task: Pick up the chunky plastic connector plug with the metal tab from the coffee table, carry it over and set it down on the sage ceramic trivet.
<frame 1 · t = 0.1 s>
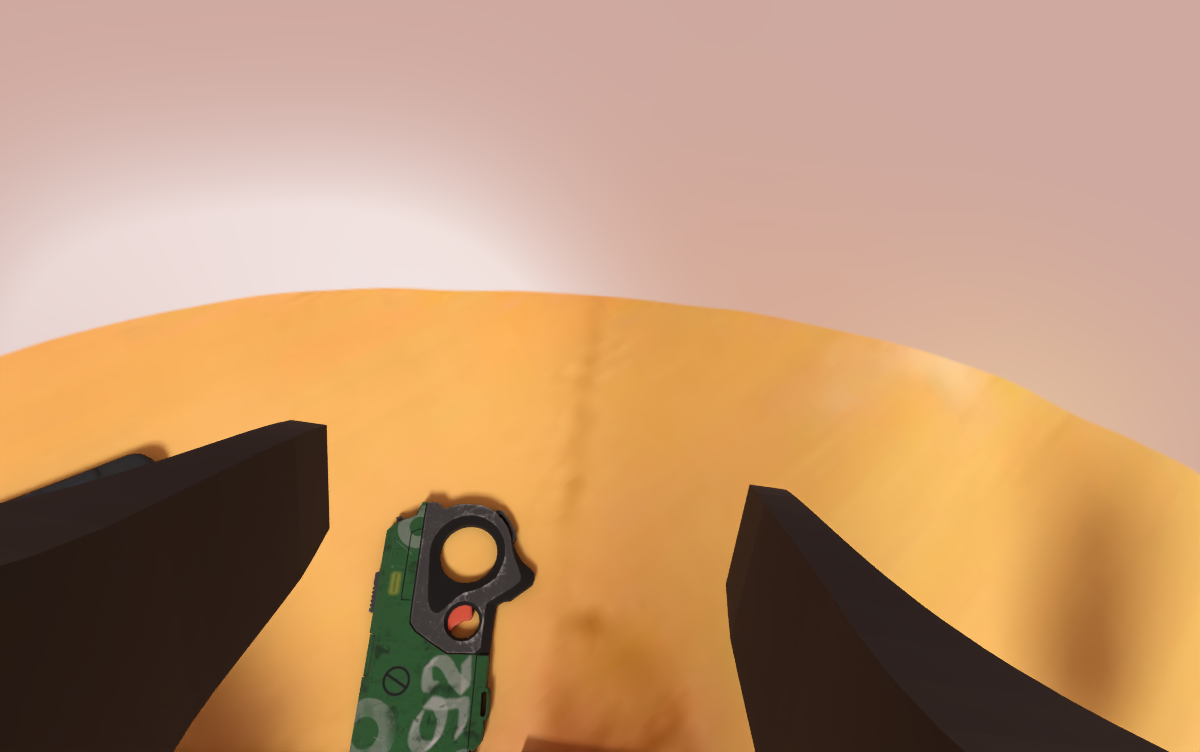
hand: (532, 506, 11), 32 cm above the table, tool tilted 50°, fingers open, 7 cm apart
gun: (451, 637, 40), on the table
handheld game console: (46, 598, 39), on the table
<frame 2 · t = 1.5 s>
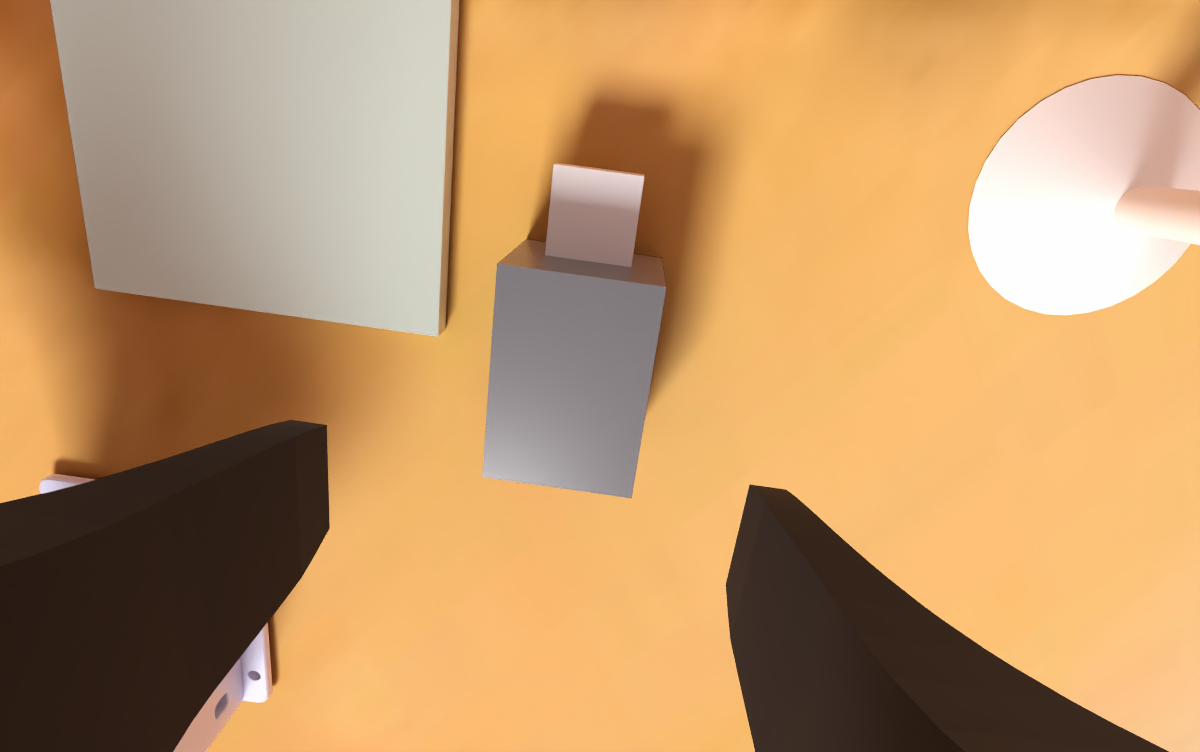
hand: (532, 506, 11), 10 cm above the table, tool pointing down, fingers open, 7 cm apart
connector plug: (582, 339, 21), on the table
champagne flute: (1085, 202, 18), on the table
trivet: (270, 127, 19), on the table
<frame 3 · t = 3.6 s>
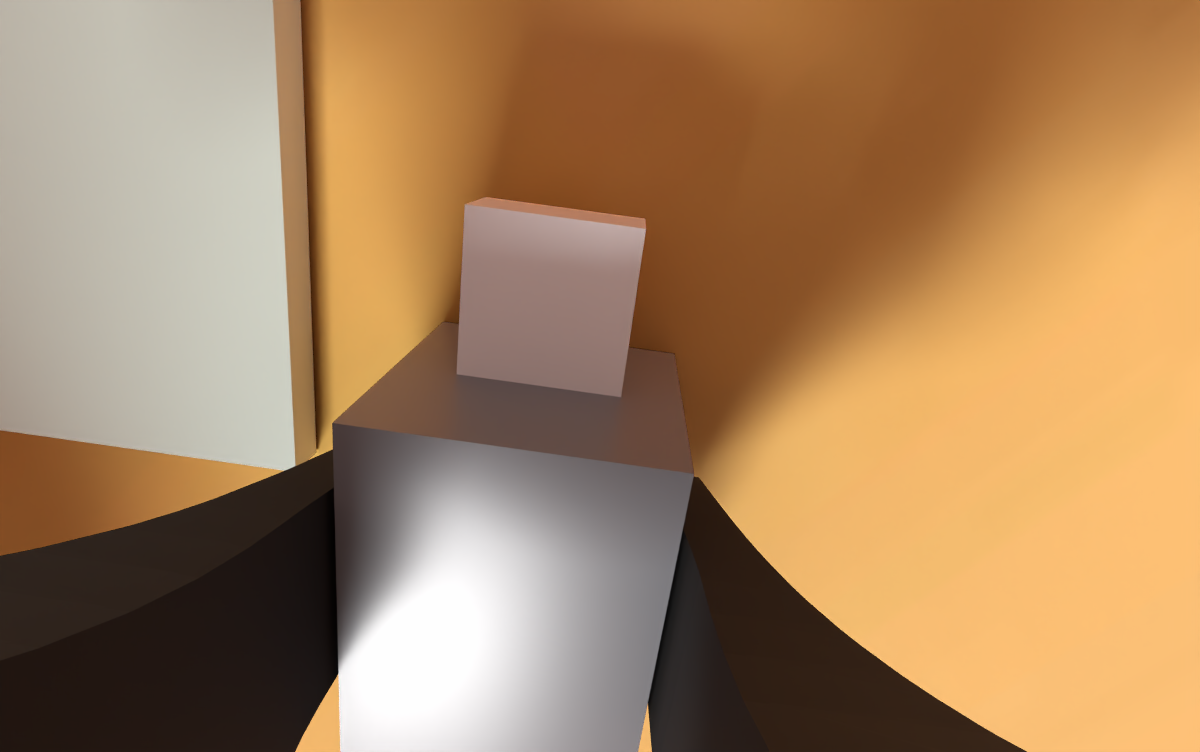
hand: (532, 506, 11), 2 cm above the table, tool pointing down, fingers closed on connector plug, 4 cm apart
connector plug: (542, 482, 12), on the table, touching gripper
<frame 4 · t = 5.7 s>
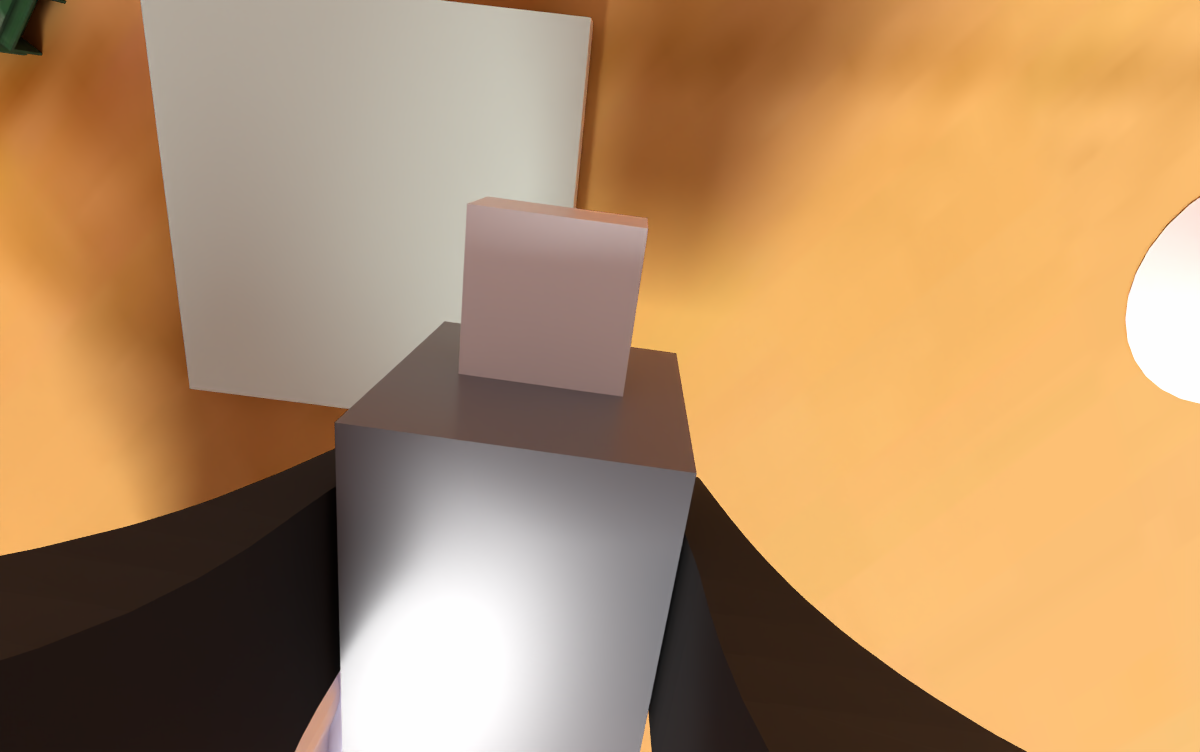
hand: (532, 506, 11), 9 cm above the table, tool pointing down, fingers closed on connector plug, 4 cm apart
connector plug: (544, 482, 12), point 7 cm above the table, touching gripper
trivet: (378, 221, 18), on the table
when the fingers open (3 cm above the table, at t = 8.0 s): connector plug stays where it is, resting on trivet.
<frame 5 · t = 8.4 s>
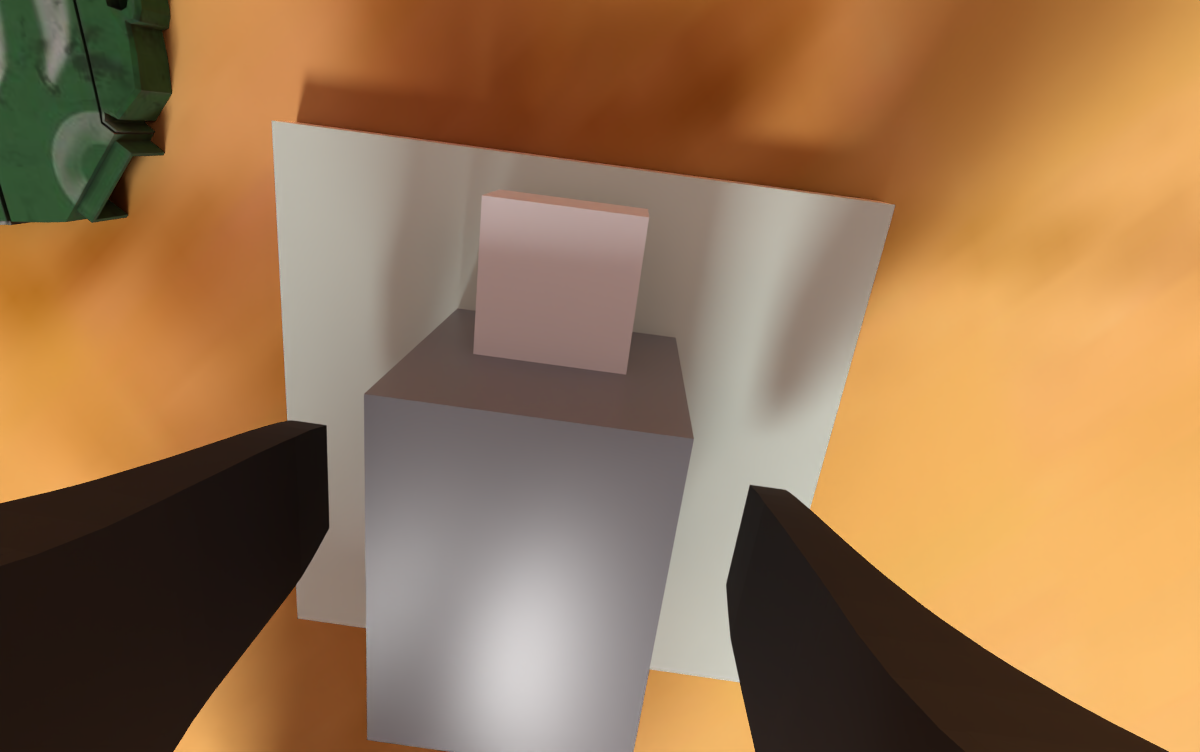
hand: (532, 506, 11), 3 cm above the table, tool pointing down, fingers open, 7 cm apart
connector plug: (551, 461, 13), point 1 cm above the table, touching trivet
trivet: (555, 426, 14), on the table
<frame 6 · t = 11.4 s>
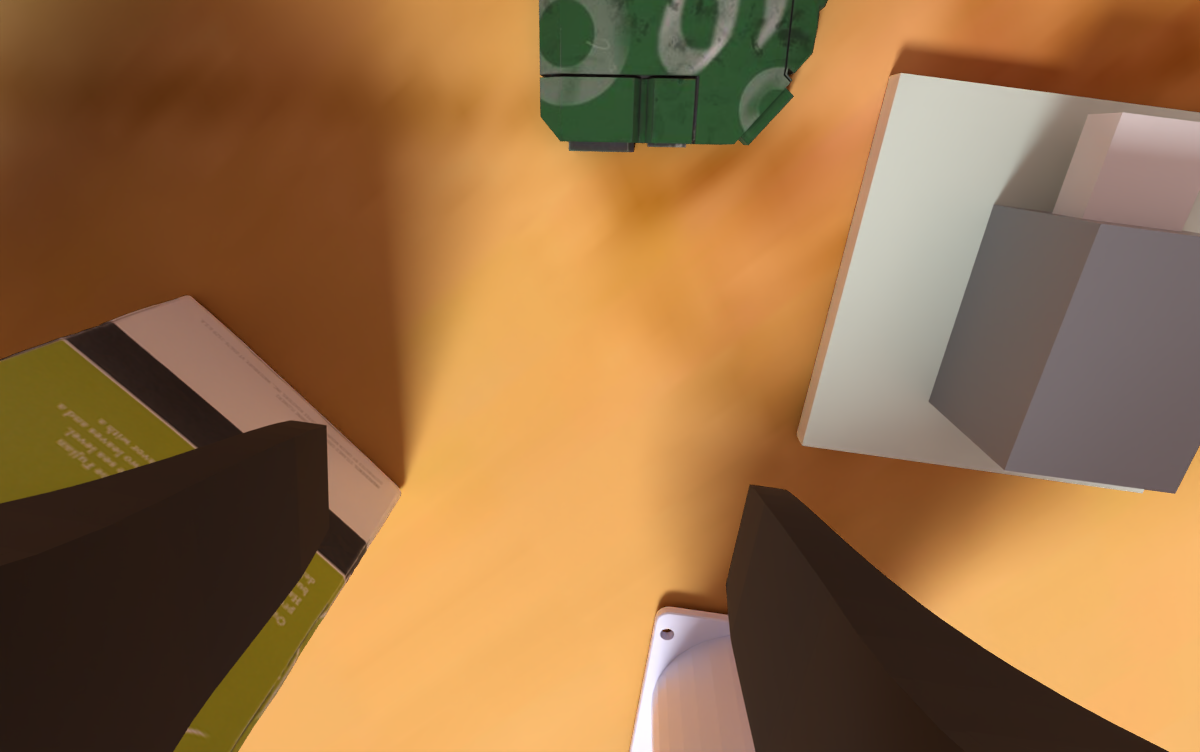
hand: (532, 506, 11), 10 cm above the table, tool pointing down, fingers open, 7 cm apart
connector plug: (1030, 318, 19), point 1 cm above the table, touching trivet
tea box: (190, 506, 24), on the table
trivet: (1018, 297, 19), on the table
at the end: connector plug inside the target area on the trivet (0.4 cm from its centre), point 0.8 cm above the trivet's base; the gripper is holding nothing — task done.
